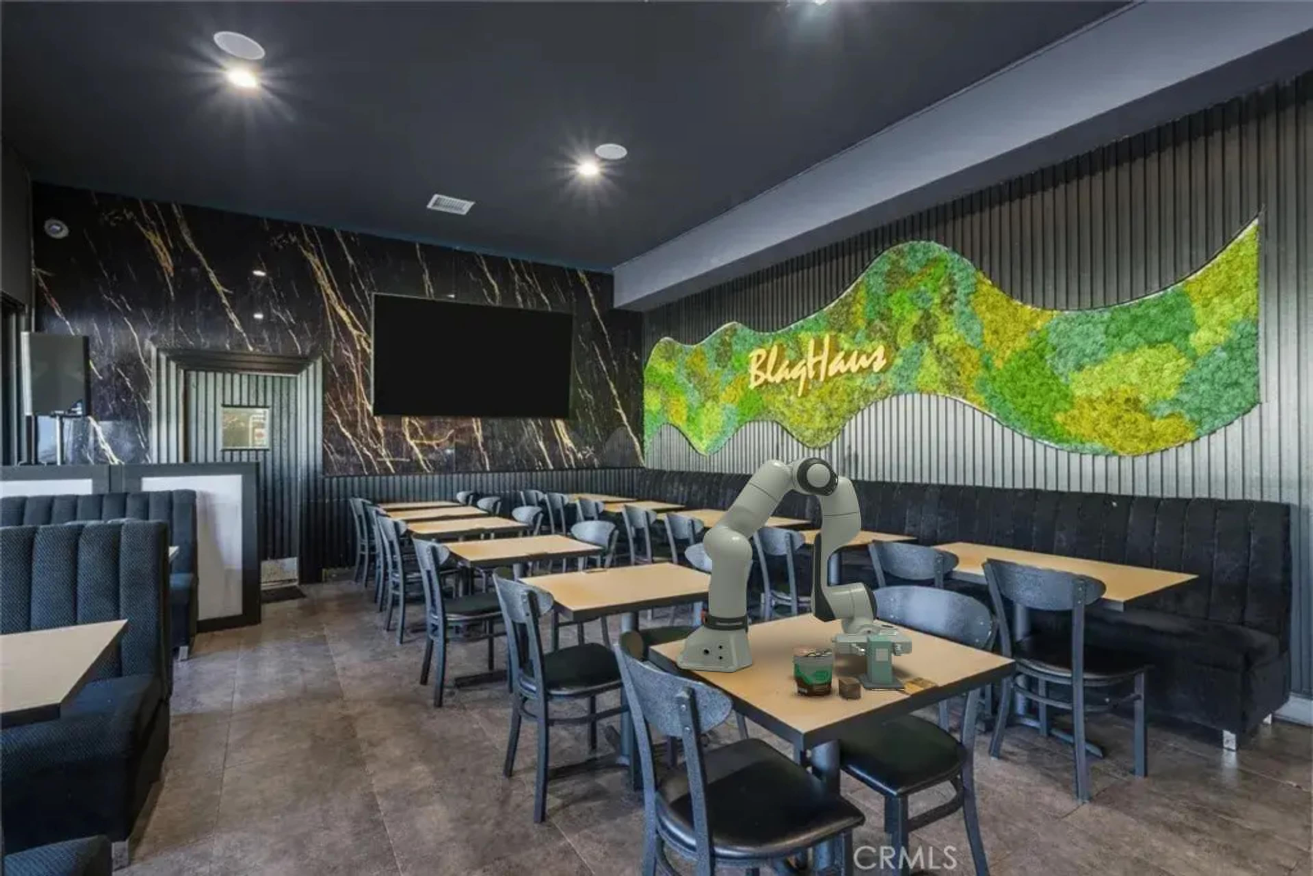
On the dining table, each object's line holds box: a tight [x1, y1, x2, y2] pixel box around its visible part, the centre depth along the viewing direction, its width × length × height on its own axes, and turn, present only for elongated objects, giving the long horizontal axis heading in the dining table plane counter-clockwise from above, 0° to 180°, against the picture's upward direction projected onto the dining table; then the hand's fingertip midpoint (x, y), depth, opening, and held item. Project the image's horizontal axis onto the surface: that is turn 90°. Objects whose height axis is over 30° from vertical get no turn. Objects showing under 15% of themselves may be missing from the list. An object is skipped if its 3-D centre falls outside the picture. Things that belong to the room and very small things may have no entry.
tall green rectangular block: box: [866, 636, 893, 684], centre depth 171 cm, size 5×5×11 cm
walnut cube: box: [837, 676, 862, 701], centre depth 163 cm, size 4×4×4 cm
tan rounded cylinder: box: [793, 645, 817, 681], centre depth 175 cm, size 6×6×8 cm
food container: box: [792, 647, 837, 697], centre depth 165 cm, size 12×6×10 cm, turn 117°
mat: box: [855, 672, 906, 691], centre depth 171 cm, size 10×10×1 cm
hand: (880, 653), depth 170 cm, fingers open, 8 cm apart
